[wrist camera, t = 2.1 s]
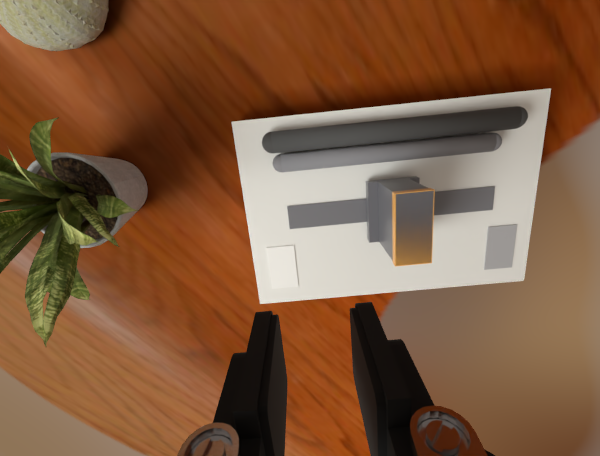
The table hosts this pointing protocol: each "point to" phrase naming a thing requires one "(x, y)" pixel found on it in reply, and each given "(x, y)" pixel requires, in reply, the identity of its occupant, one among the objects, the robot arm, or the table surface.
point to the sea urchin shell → (54, 22)
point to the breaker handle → (401, 219)
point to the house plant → (62, 217)
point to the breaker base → (386, 165)
